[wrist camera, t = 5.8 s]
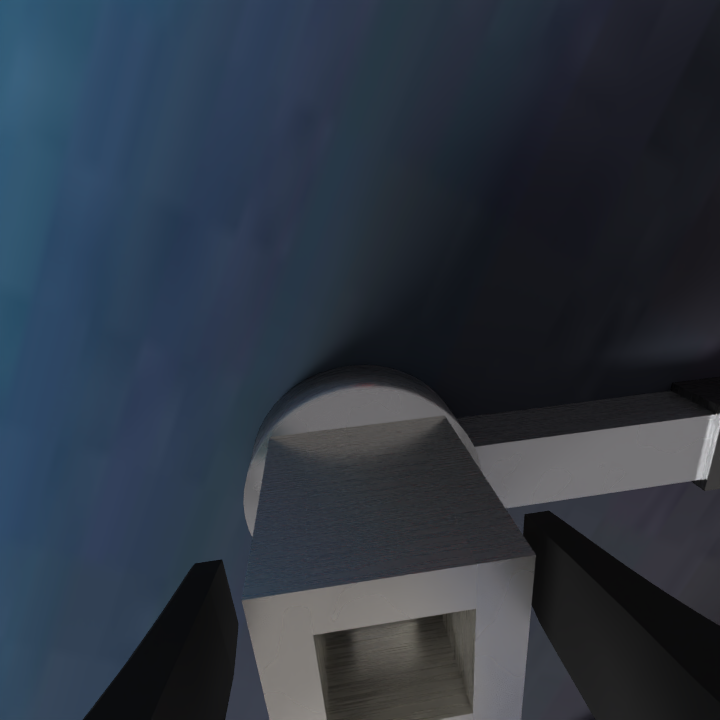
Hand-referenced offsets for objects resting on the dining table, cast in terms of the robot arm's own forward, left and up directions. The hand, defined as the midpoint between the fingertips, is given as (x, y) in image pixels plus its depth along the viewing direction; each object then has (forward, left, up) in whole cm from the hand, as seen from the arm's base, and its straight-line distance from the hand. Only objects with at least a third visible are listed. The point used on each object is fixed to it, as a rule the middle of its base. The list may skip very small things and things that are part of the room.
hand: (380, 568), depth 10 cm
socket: (0, 0, -2) cm, 3 cm away
